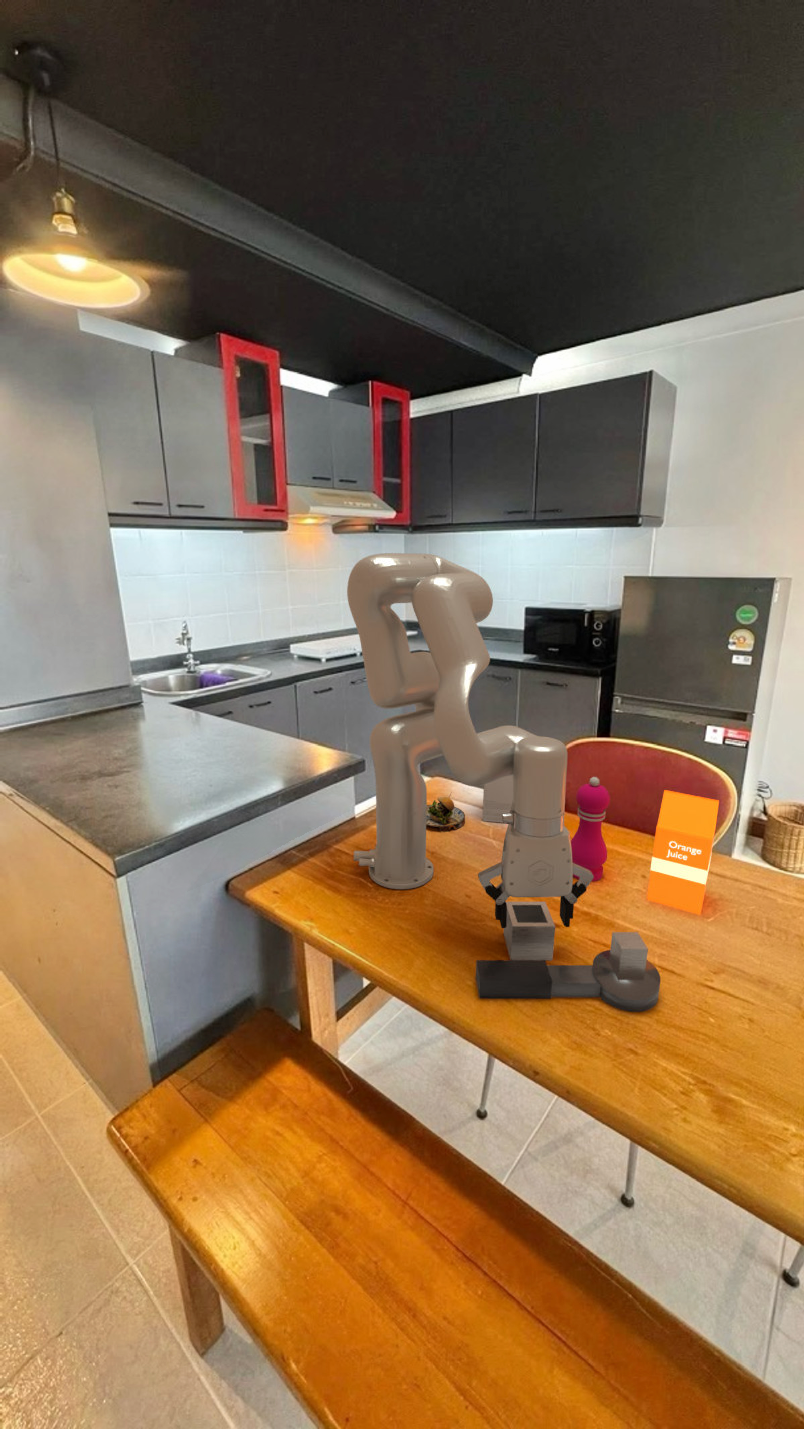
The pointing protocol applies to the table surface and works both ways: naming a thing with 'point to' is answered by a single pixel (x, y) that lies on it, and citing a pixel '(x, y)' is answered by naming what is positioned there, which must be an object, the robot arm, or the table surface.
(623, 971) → the ratchet
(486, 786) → the supplement box
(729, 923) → the table surface
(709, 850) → the orange juice
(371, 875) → the robot arm
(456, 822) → the burger
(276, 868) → the table surface
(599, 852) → the pepper mill
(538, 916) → the socket
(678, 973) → the table surface
